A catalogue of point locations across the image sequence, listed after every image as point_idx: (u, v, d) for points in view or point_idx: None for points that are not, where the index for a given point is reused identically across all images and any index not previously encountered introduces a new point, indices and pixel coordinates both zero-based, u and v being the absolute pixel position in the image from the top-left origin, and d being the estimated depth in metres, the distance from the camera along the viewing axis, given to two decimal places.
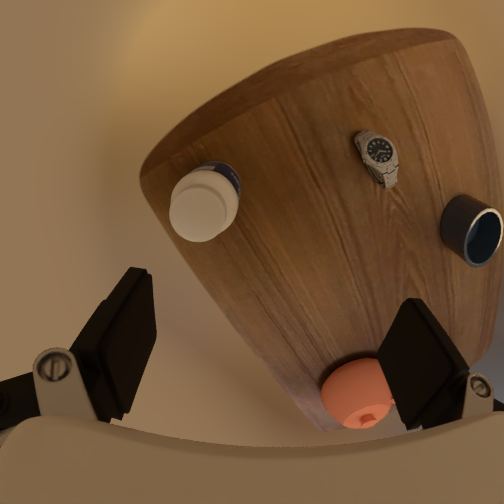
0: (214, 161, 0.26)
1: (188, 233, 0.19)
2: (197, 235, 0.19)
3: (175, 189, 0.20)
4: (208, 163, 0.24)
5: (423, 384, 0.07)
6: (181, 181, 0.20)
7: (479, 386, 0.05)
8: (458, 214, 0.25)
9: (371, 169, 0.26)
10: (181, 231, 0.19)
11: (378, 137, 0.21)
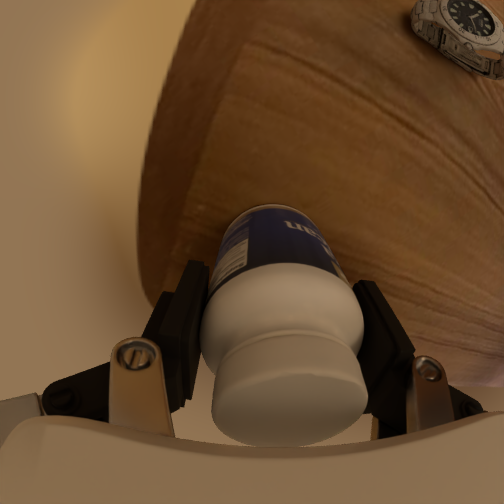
0: (239, 218, 0.13)
1: (296, 440, 0.06)
2: (318, 435, 0.06)
3: (205, 357, 0.08)
4: (231, 233, 0.12)
5: (369, 365, 0.07)
6: (202, 338, 0.08)
7: (427, 369, 0.06)
8: None
9: (462, 60, 0.09)
10: (278, 444, 0.07)
11: None
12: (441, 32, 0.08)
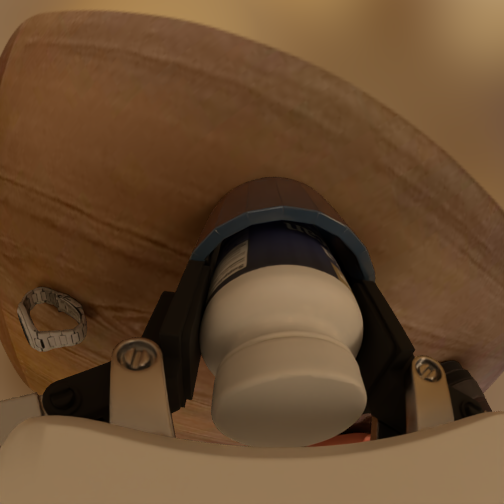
0: None
1: (295, 441, 0.06)
2: (318, 436, 0.06)
3: (205, 358, 0.08)
4: None
5: (369, 365, 0.07)
6: (202, 340, 0.08)
7: (427, 369, 0.06)
8: None
9: (72, 316, 0.17)
10: (278, 445, 0.07)
11: None
12: (56, 297, 0.17)
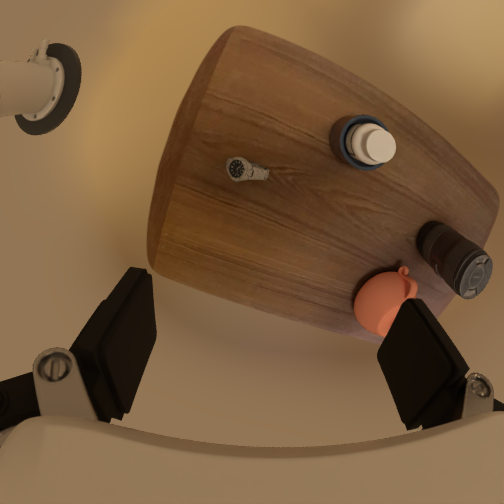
0: None
1: (383, 157, 0.28)
2: (387, 156, 0.28)
3: (355, 144, 0.30)
4: None
5: (423, 384, 0.07)
6: (355, 138, 0.30)
7: (479, 386, 0.05)
8: (334, 144, 0.35)
9: None
10: (379, 159, 0.28)
11: (231, 161, 0.35)
12: None
